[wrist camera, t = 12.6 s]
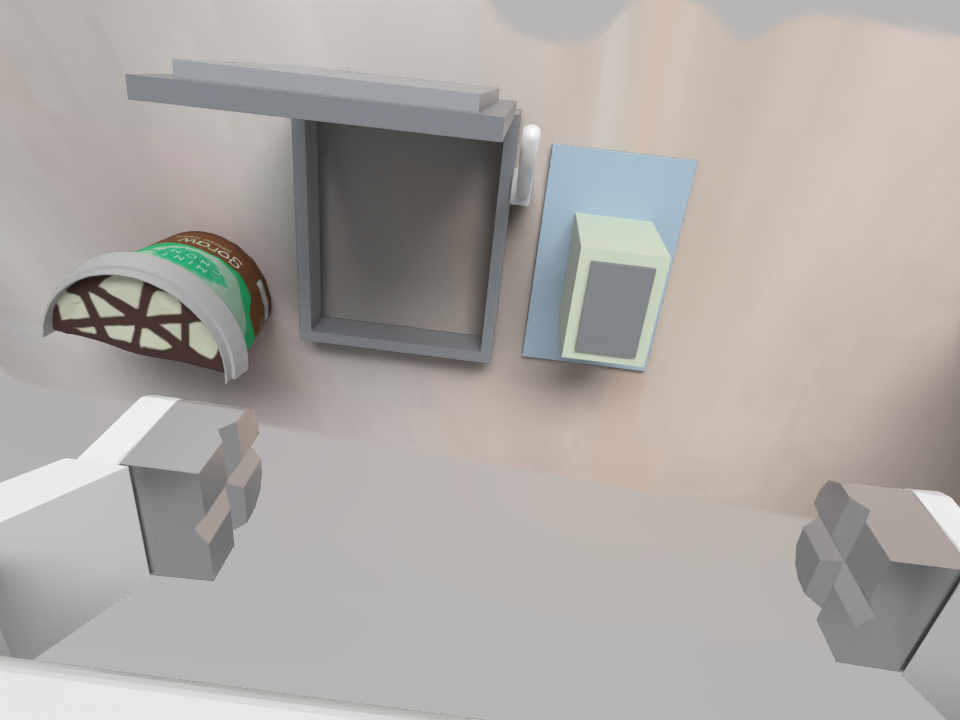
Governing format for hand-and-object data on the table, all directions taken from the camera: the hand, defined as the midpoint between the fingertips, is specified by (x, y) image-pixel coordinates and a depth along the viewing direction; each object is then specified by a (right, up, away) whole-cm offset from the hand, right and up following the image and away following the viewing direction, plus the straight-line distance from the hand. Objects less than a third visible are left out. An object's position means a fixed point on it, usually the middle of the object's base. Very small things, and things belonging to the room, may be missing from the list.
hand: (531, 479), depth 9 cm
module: (+8, +8, +35) cm, 36 cm away
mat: (+8, +8, +35) cm, 37 cm away
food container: (-20, +9, +37) cm, 43 cm away
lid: (-6, +13, +21) cm, 25 cm away
